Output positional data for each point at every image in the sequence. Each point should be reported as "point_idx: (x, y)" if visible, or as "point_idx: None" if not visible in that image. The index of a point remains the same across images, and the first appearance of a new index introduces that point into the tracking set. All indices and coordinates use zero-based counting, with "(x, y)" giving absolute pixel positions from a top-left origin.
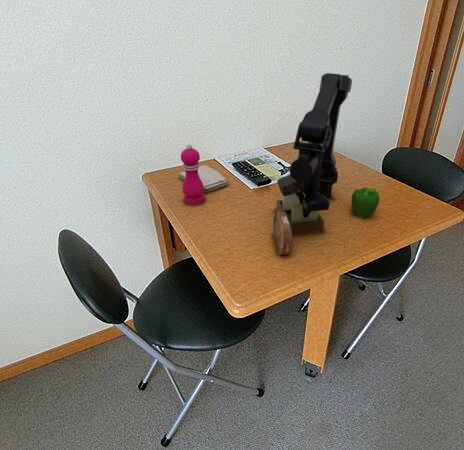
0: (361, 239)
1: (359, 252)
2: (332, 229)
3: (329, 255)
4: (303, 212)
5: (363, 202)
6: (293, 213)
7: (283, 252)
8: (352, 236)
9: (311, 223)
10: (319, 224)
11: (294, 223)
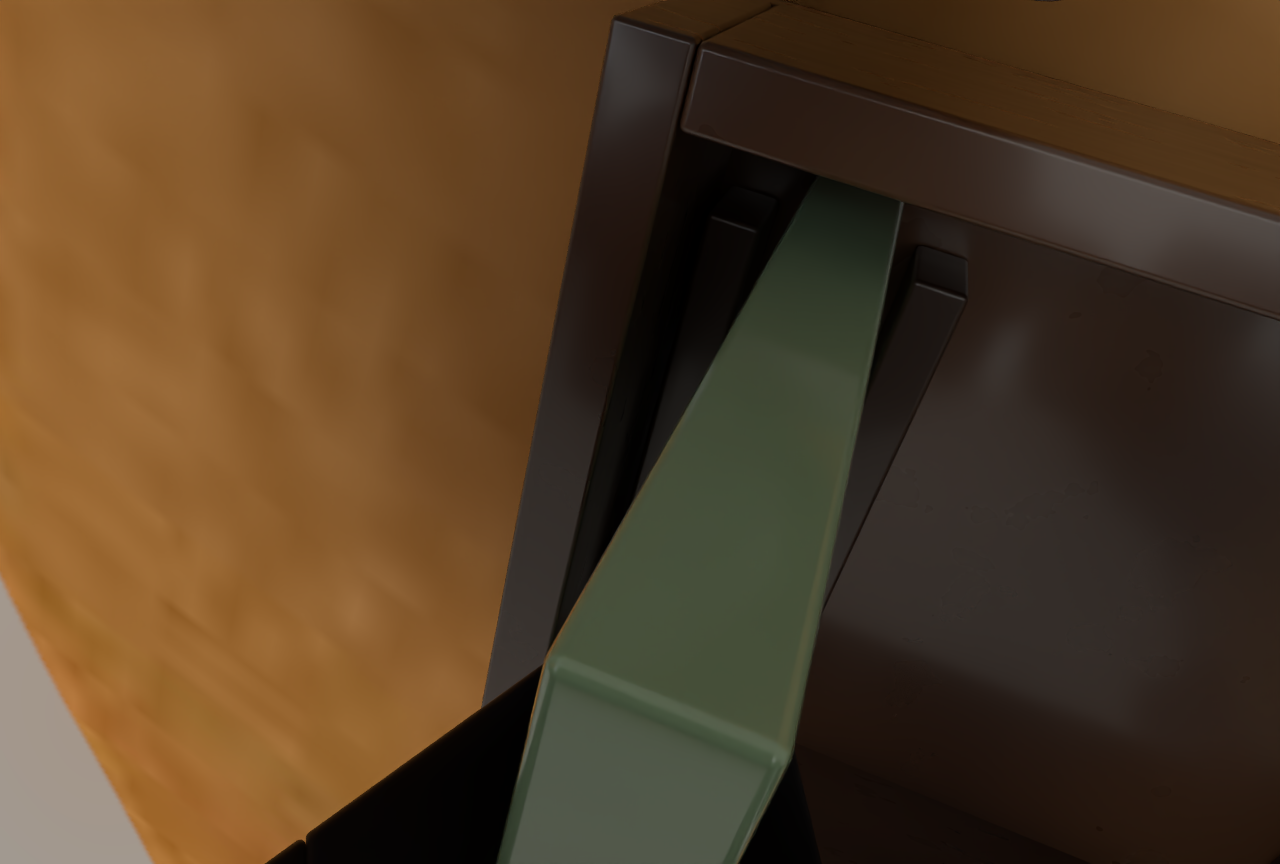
0: (285, 836)
1: (74, 659)
2: None
3: (21, 339)
4: (491, 743)
5: None
6: (673, 440)
7: None
8: None
9: (502, 621)
10: None
11: (600, 250)
